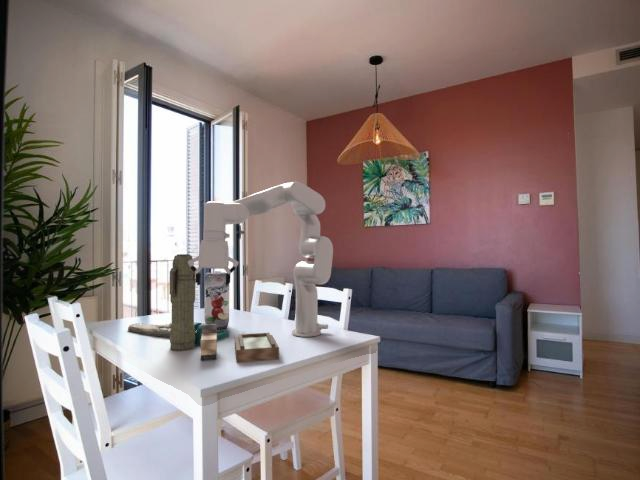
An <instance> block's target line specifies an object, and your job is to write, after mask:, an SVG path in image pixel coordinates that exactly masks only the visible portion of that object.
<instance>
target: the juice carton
mask: <svg viewBox="0 0 640 480" xmlns="http://www.w3.org/2000/svg"><path fill="white" fill-rule="evenodd" d="M226 274H227V272H226V271H225V272H222V269H216V270H215V269H214V272H206V273H205V277H204V323H205V324H217V330H228V327H229V323H230V322H229V321H230V283H228V286H226Z"/></svg>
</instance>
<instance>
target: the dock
mask: <svg viewBox="0 0 640 480" xmlns="http://www.w3.org/2000/svg"><path fill="white" fill-rule="evenodd" d="M234 353H235V362H236V363H244V362H245V363H247V362H259V361H271V360H275V361H276V360H280V347H279V345H278V342H277V341H276V339H275V338H274V336H273V334H270V332H255V333H254V332H253V333H240V334H238V336H235V337H234Z"/></svg>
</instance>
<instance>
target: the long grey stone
mask: <svg viewBox="0 0 640 480" xmlns="http://www.w3.org/2000/svg"><path fill="white" fill-rule="evenodd" d="M171 327H172V322H170V323H167V324H149V323H143V322H136V323H133V324H130V325H129V326H128V327H127V331H128V332H132V333H136V334H137V333H138V334H139V333H140V335H146V336H155V337H161V338H168V339H170V330H171Z"/></svg>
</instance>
